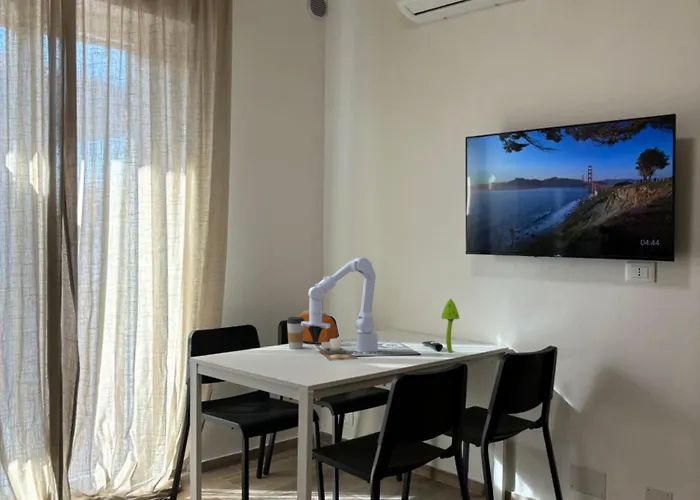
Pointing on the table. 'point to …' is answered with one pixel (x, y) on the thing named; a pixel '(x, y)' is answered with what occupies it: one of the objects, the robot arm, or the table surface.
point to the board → (337, 359)
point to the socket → (327, 351)
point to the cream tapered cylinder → (332, 344)
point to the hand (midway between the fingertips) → (315, 342)
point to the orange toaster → (325, 333)
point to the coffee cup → (295, 332)
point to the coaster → (340, 356)
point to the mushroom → (449, 320)
